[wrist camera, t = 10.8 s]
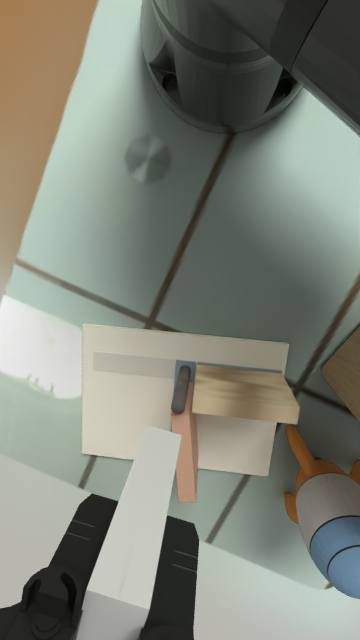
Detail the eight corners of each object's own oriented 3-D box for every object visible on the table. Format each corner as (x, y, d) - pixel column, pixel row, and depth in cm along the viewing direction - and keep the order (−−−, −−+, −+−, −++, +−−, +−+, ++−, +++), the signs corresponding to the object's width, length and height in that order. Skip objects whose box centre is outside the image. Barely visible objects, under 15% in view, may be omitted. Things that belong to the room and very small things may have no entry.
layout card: (84, 323, 36) (81, 324, 36) (288, 342, 35) (289, 344, 34) (83, 450, 40) (81, 453, 40) (267, 473, 39) (268, 477, 38)
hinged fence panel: (178, 382, 36) (170, 415, 29) (193, 381, 36) (189, 415, 29) (184, 455, 38) (178, 501, 31) (198, 454, 38) (195, 501, 31)
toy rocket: (265, 419, 38) (338, 502, 23) (353, 416, 39) (478, 494, 24) (264, 503, 39) (332, 635, 24) (350, 498, 40) (467, 622, 25)
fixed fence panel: (179, 375, 36) (170, 415, 28) (180, 361, 36) (171, 398, 28) (279, 385, 36) (299, 430, 27) (281, 371, 35) (303, 413, 27)
